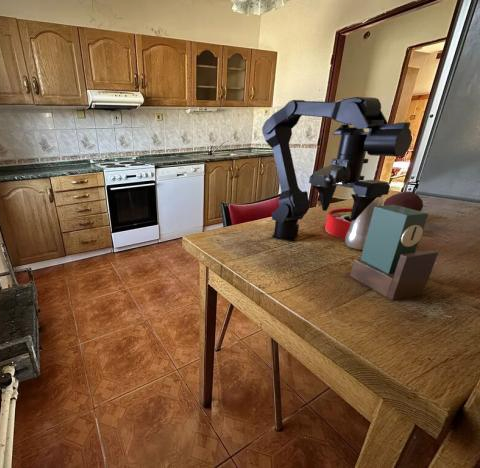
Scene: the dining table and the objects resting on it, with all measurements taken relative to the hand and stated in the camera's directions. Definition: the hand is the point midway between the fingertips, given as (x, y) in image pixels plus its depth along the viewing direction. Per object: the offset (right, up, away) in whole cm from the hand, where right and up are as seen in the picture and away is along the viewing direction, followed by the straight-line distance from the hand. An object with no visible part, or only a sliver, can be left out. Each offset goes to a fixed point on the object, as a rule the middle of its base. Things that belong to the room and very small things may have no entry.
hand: (337, 215), depth 69 cm
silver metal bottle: (+11, -9, +8) cm, 17 cm away
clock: (+3, -12, -11) cm, 16 cm away
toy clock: (+20, -5, +20) cm, 28 cm away
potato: (+45, +1, +31) cm, 55 cm away
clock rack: (+4, -16, -10) cm, 19 cm away
